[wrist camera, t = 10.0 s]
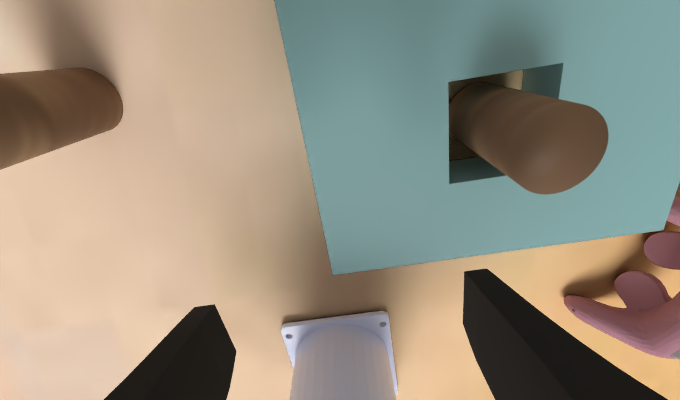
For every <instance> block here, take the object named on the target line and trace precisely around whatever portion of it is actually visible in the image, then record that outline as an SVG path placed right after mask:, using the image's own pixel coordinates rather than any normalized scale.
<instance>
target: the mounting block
mask: <svg viewBox="0 0 680 400" xmlns="http://www.w3.org/2000/svg"><path fill="white" fill-rule="evenodd" d="M274 1H275V6H276V10H277V15H278V20H279V24H280V29H281V34H282V38H283V43H284V48H285V53H286V57H287V62H288V67H289V71H290V76H291V81H292V85H293V90H294V95H295V100H296V104H297V109H298V114H299V118H300V123H301V128H302V133H303V137H304V142H305V147H306V151H307V156H308V161H309V165H310V170H311V175H312V180H313V184H314V189H315V194H316V198H317V203H318V208H319V212H320V217H321V222H322V227H323V231H324V236H325V241H326V245H327V250H328V255H329V259H330V264H331V269H332V274H333V275H339V274H346V273H354V272H361V271H368V270H375V269H383V268H390V267H397V266H405V265H412V264H419V263H427V262H434V261H441V260H449V259H456V258H463V257H471V256H478V255H485V254H492V253H500V252H507V251H514V250H522V249H529V248H536V247H544V246H551V245H558V244H566V243H573V242H580V241H588V240H595V239H602V238H609V237H617V236H624V235H631V234H639V233H646V232H653V231H661V230H664V227H665V224H666V221H667V218H668V215H669V212H670V209H671V206H672V203H673V200H674V198H675V195H676V192H677V189H678V186H679V183H680V0H274ZM523 69H524V73H523V84H522V91H525V92H530V93H534V94H539V95H543V96H548V97H552V98H557V99H561V100H566V101H571V102H575V103H580V104H584V105H588V106H590V107H592V108H594V109H596V110H597V111H598V112H599V113H600V114H601V115H602V116H603V117H604V119H605V121H606V124H607V127H608V133H609V136H608V145H607V148H606V152H605V154H604V156H603V158H602V160H601V162H600V163H599V165H598V166H597V168H596V169H595V170H594V171H593V172H592V173H591V174H590V175H589V176H588V177H587V178H586V179H585V180H583V181H582V182H581V183H579V184H578V185H576V186H574V187H572V188H571V189H568V190H566V191H563V192H560V193H556V194H548V195H544V194H536V193H532V192H530V191H528V190H526V189H524V188H523V187H521V186H520V185H519V184H517V183H516V182H515V181H513V180H512V179H511V178H509V177H508V176H507V175H505V174H504V173H502V172H501V171H500V170H498V169H497V168H496V167H494V166H493V165H492V164H490V163H489V162H487V161H486V160H485V159H483V158H482V157H475V158H468V159H462V160H455V161H449V95H448V82H451V81H457V80H463V79H469V78H475V77H481V76H487V75H493V74H499V73H505V72H511V71H517V70H523Z"/></svg>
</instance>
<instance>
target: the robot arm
mask: <svg viewBox="0 0 680 400" xmlns="http://www.w3.org/2000/svg"><path fill="white" fill-rule="evenodd" d="M381 322H384V323H381ZM463 325H464V328H465V331H466V333H467V336H468V339H469V342H470V345H471V347H472V350H473V353H474V356H475V358H476V361H477V363H478V365H479V367H480V369H481V371H482V373H483V375H484V377H485V379H486V381H487V384H488V386H489V388H490V390H491V392H492V394H493V396H494V398H495V400H668V399H666V398H664V397H663V396H661V395H660V394H658V393H656V392H655V391H653V390H652V389H650V388H648V387H647V386H645V385H644V384H642V383H640V382H639V381H637V380H636V379H634V378H633V377H631V376H630V375H628V374H627V373H625V372H623V371H622V370H620V369H619V368H617V367H616V366H614V365H613V364H612V363H610V362H609V361H607V360H606V359H604V358H603V357H602V356H600V355H599V354H597V353H596V352H594V351H593V350H591V349H590V348H589V347H587V346H586V345H584V344H583V343H582V342H580V341H579V340H577V339H576V338H575V337H573V336H572V335H571V334H569V333H568V332H567V331H565V330H564V329H563V328H561V327H560V326H559V325H557V324H556V323H555V322H553V321H552V320H551V319H549V318H548V317H547V316H545V315H544V314H543V313H542V312H540V311H539V310H538V309H536V308H535V307H534V306H533V305H531V304H530V303H529V302H528V301H526V300H525V299H524V298H523V297H521V296H520V295H519V294H518V293H516V292H515V291H514V290H513V289H511V288H510V287H509V286H508V285H507V284H505V283H504V282H503V281H502V280H500V279H499V278H498V277H497V276H496V275H494V274H493V273H492V272H490V271H489V270H488V269H480V270H473V271H465V272H464V305H463ZM281 334H282V337H283V340H284V343H285V346H286V349H287V352H288V355H289V358H290V361H291V364H292V367H293V370H294V371H293V379H292V386H291V394H290V400H396V395H397V393H398V387H397V379H396V371H395V363H394V355H393V347H392V339H391V331H390V323H389V316H388V313H387V312H385V311H376V312H368V313H361V314H353V315H345V316H337V317H330V318H322V319H314V320H307V321H299V322H291V323H285V324H283V325H282V327H281ZM288 334H291V335H288ZM235 356H236V349H235V347H234V345H233V343H232V341H231V339H230V337H229V334H228V332H227V330H226V328H225V326H224V324H223V321H222V319H221V317H220V315H219V313H218V311H217V309H216V306H215V305H208V306H200V307H194V308H193V309H192V310H191V311H190V312H189V313H188V314H187V315H186V316H185V317H184V318H183V319H182V320H181V321H180V322H179V323H178V324H177V325H176V326H175V327H174V329H173V330H172V331H171V332H170V333H169V334H168V335H167V336H166V337H165V338H164V339H163V340H162V341H161V342H160V343H159V344H158V345H157V346H156V347H155V348H154V350H153V351H152V352H151V353H150V354H149V355H148V356H147V357H146V358H145V359H144V360H143V361H142V362H141V363H140V364H139V365H138V366H137V367H136V368H135V369H134V370H133V371H132V372H131V373H130V374H129V375H128V376H127V377H126V378H125V379H124V380H123V381H122V382H121V383H120V384H119V385H118V386H117V387H116V388H115V389H114V390H113V391H112V392H111V393H110V394H109V395H108V396H107V397H106V398H105V399H104V400H226V398H227V395H228V392H229V388H230V383H231V378H232V373H233V368H234V362H235Z"/></svg>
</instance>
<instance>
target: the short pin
mask: <svg viewBox="0 0 680 400" xmlns="http://www.w3.org/2000/svg"><path fill="white" fill-rule="evenodd" d="M449 131H450V133H451V134H452V135H453V136H454V137H455V138H456V139H457V140H459V141H460V142H462V143H463V144H464V145H466V146H467V147H468V148H470V149H471V150H472V151H474V152H475V153H477V154H478V155H479V156H481V157H482V158H483V159H485V160H486V161H487V162H489V163H490V164H492V165H493V166H494V167H496V168H497V169H498V170H500V171H501V172H502V173H504V174H505V175H507V176H508V177H509V178H511V179H512V180H513V181H515V182H516V183H517V184H519V185H520V186H521V187H523V188H524V189H526V190H528V191H530V192H532V193H536V194H544V195H548V194H556V193H560V192H563V191H566V190H568V189H571V188H572V187H574V186H576V185H578V184H579V183H581V182H582V181H583V180H585V179H586V178H587V177H588V176H589V175H590V174H591V173H592V172H593V171H594V170H595V169H596V168H597V166H598V165H599V163H600V162H601V160H602V158H603V156H604V154H605V152H606V148H607V145H608V136H609V133H608V127H607V124H606V121H605V119H604V117H603V116H602V115H601V114H600V113H599V112H598V111H597V110H596V109H594V108H592V107H590V106H588V105H584V104H580V103H575V102H571V101H566V100H561V99H557V98H552V97H548V96H543V95H539V94H534V93H530V92H525V91H521V90H516V89H512V88H507V87H503V86H498V85H493V84H489V83H474V84H471V85H468V86H466V87H465V88H463V89H462V90H460V91H459V92H458V93H457V94H456V95H455V96H454V98H453V99H452V100H451V102H450V104H449Z"/></svg>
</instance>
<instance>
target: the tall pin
mask: <svg viewBox="0 0 680 400" xmlns="http://www.w3.org/2000/svg"><path fill="white" fill-rule="evenodd" d="M122 114H123V106H122V101H121V98H120V96H119V94H118V92H117V90H116V89H115V87H114V86H113V85H112V84H111V83H110V82H109V81H108V80H107V79H106V78H105V77H104V76H102V75H101V74H99V73H97V72H95V71H93V70H90V69H85V68H71V69H58V70H45V71H32V72H18V73H5V74H0V170H1V169H3V168H6V167H9V166H12V165H14V164H17V163H20V162H23V161H25V160H28V159H31V158H34V157H36V156H39V155H42V154H45V153H47V152H50V151H53V150H56V149H59V148H61V147H64V146H67V145H70V144H72V143H75V142H78V141H81V140H83V139H86V138H89V137H92V136H94V135H97V134H100V133H103V132H105V131H108V130H111V129H113V128H114V127H116V126H117V125H118V123H119V122H120V120H121V118H122Z"/></svg>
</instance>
